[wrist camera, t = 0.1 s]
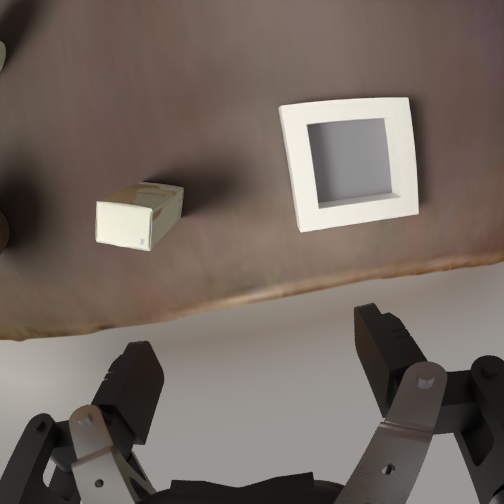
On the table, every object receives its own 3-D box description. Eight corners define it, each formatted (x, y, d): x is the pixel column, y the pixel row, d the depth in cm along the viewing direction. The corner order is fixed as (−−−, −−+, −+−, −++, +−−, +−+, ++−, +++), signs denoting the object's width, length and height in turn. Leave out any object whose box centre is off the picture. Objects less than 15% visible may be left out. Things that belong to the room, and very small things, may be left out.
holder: (278, 108, 34) (280, 105, 31) (396, 99, 33) (408, 97, 30) (296, 224, 40) (300, 232, 36) (406, 207, 38) (418, 213, 35)
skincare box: (184, 186, 38) (156, 208, 26) (181, 218, 39) (153, 252, 28) (138, 180, 38) (94, 200, 26) (136, 212, 39) (94, 242, 28)
